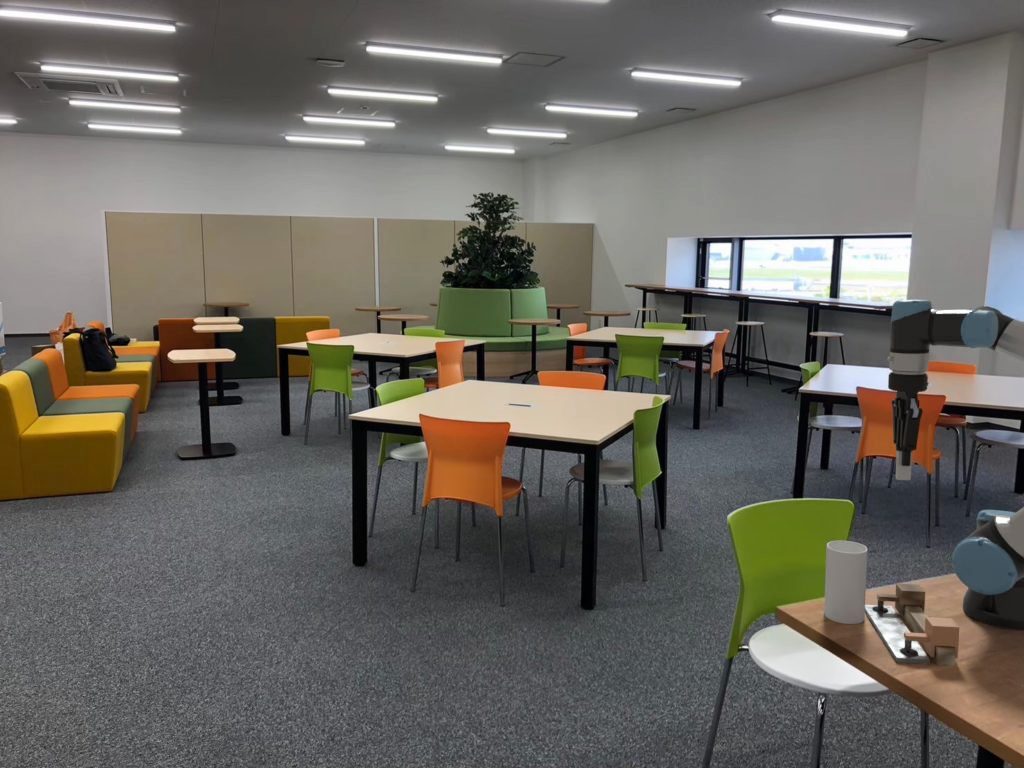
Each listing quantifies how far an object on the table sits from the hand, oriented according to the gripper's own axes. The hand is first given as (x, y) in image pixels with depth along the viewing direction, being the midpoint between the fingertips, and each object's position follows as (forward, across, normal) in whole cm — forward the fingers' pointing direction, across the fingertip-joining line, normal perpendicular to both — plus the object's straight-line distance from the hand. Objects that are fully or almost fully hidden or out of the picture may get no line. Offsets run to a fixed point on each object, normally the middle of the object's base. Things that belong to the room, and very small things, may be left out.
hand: (903, 479), depth 171 cm
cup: (+31, +4, -12) cm, 33 cm away
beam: (+30, +12, +2) cm, 33 cm away
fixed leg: (+30, +2, 0) cm, 30 cm away
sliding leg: (+30, +21, 0) cm, 36 cm away
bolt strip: (+30, +12, -4) cm, 33 cm away
